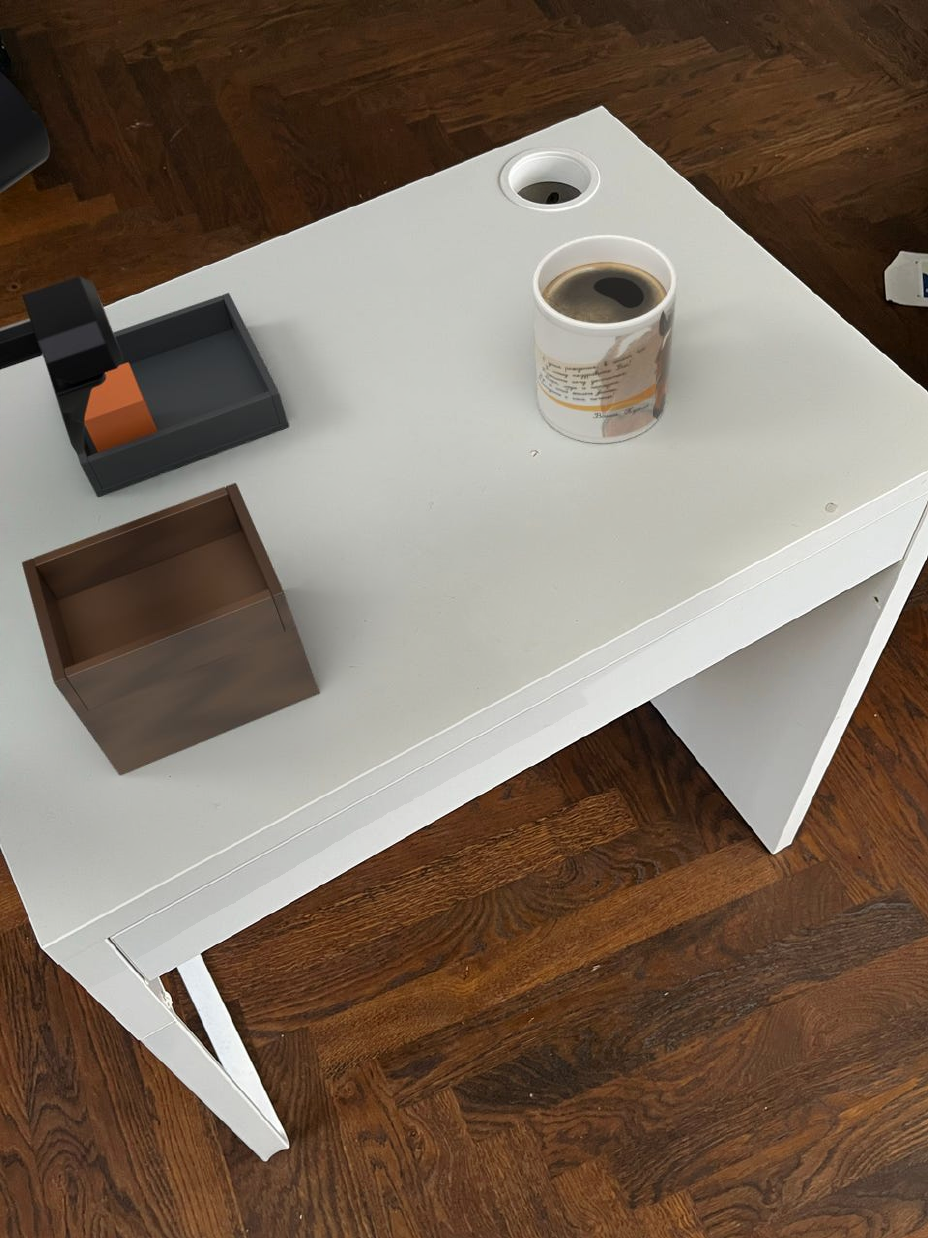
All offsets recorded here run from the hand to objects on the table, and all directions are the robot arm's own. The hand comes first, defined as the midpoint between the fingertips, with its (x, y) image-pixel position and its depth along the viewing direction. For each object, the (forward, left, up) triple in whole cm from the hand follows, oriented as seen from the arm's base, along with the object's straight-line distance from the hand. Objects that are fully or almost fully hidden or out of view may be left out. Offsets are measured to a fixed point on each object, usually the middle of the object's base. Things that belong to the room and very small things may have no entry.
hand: (6, 475), depth 71 cm
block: (+7, +12, -11) cm, 18 cm away
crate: (+6, -11, -12) cm, 17 cm away
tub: (+11, +14, -12) cm, 22 cm away
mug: (+42, 0, -12) cm, 44 cm away
